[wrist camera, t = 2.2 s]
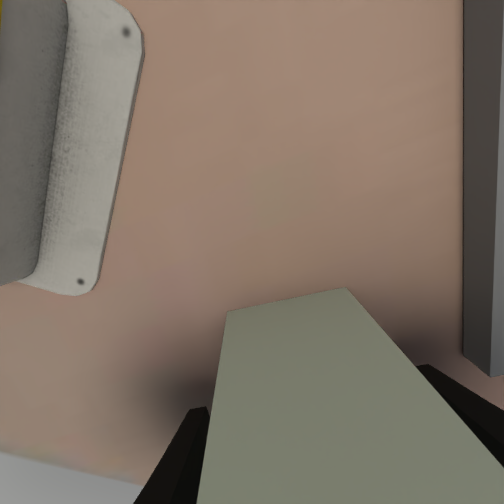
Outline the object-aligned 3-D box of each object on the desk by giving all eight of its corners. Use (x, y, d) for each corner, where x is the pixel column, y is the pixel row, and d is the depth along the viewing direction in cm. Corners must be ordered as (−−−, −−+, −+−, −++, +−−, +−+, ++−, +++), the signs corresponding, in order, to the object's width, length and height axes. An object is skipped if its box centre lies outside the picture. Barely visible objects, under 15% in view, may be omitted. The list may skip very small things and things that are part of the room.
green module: (364, 428, 12) (531, 792, 5) (265, 445, 12) (288, 819, 5) (345, 286, 10) (580, 555, 3) (227, 311, 10) (179, 615, 3)
